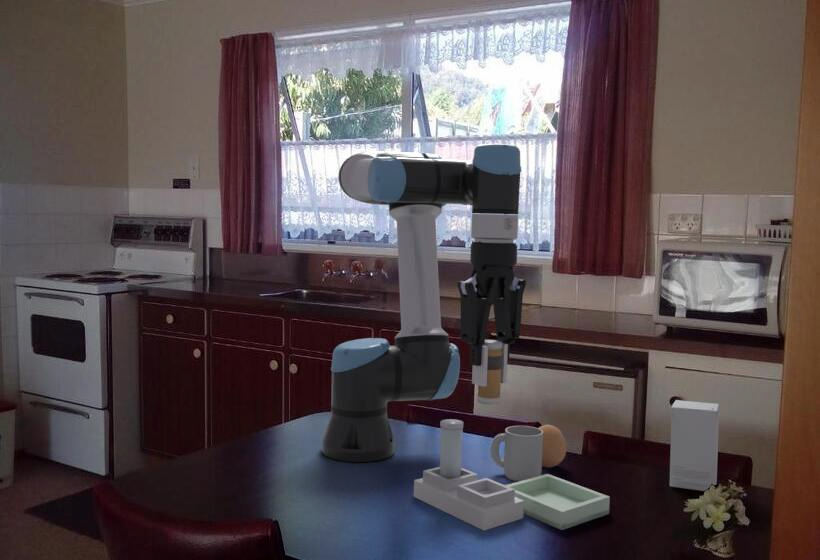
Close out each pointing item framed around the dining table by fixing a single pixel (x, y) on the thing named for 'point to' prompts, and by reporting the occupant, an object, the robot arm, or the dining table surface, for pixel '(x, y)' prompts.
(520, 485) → the parts tray
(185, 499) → the dining table surface
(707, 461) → the skincare box
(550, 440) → the egg
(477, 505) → the block
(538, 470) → the cup
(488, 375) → the cylinder
